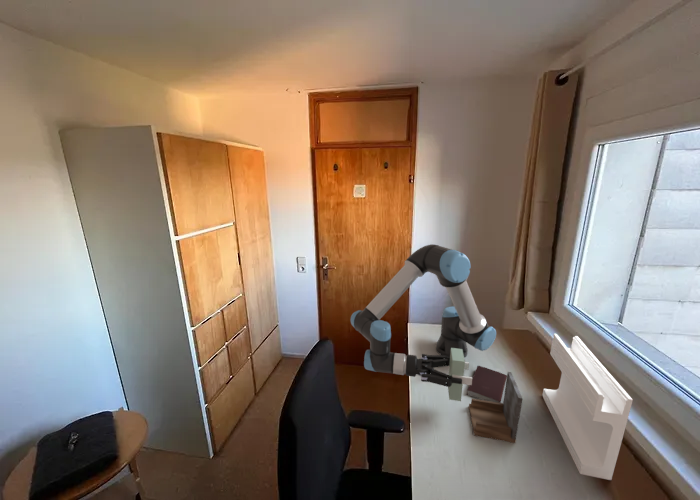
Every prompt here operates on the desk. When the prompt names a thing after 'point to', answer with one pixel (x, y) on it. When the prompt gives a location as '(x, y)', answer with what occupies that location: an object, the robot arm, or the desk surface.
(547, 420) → the desk surface
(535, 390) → the desk surface
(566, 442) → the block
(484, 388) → the book
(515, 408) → the slot board
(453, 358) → the grey-green tall block
